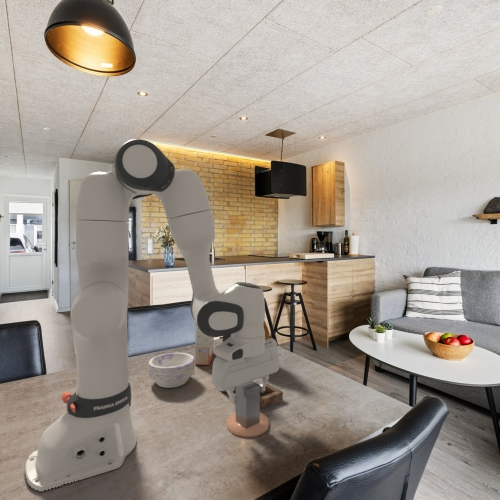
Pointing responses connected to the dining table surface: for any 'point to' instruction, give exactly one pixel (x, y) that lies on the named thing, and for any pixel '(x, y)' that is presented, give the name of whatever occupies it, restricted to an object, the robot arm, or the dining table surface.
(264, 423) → the peach domed puck
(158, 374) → the paper bowls
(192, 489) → the dining table surface
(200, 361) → the cracker box
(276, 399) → the socket block
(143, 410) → the dining table surface
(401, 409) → the dining table surface
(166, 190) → the robot arm
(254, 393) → the steel peg
